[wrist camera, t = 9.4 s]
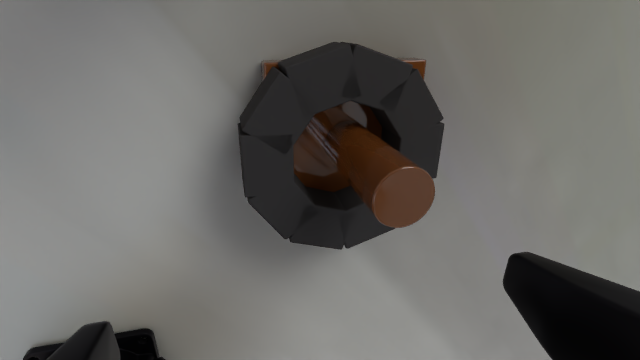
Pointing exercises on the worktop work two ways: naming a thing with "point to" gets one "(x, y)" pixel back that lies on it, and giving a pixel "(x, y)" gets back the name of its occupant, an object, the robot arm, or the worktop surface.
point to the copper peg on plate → (361, 160)
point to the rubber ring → (295, 114)
